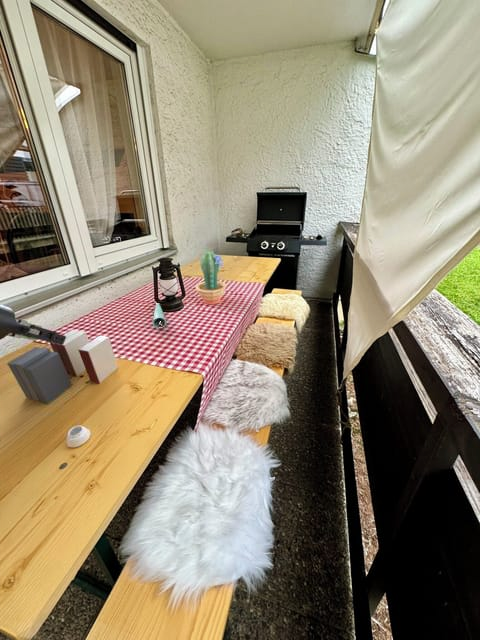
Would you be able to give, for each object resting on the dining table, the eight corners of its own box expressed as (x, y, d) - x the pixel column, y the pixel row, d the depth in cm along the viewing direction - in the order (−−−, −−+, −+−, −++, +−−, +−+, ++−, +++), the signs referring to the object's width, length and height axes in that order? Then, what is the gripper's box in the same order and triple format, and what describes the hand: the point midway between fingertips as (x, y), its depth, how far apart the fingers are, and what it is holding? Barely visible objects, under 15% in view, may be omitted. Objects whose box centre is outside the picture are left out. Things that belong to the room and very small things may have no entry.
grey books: (26, 397, 74) (6, 361, 68) (51, 379, 81) (35, 345, 75) (47, 404, 72) (28, 367, 66) (72, 385, 78) (57, 349, 72)
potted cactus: (209, 310, 123) (204, 257, 111) (191, 300, 133) (185, 252, 121) (233, 300, 132) (231, 251, 120) (214, 292, 142) (211, 246, 130)
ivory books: (63, 373, 83) (49, 342, 78) (84, 359, 90) (72, 329, 84) (76, 377, 82) (63, 345, 76) (96, 361, 89) (86, 331, 83)
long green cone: (161, 293, 128) (165, 316, 106) (163, 303, 131) (167, 328, 108) (150, 294, 127) (151, 318, 104) (152, 304, 129) (153, 330, 107)
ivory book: (90, 381, 80) (78, 349, 74) (110, 365, 86) (100, 335, 81) (99, 384, 79) (87, 351, 73) (118, 367, 86) (108, 336, 80)
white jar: (77, 428, 64) (62, 446, 60) (73, 420, 63) (57, 438, 59) (95, 431, 63) (81, 450, 59) (92, 423, 62) (77, 441, 58)
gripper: (10, 304, 49) (78, 327, 64) (-40, 295, 53) (35, 319, 68) (-8, 342, 47) (66, 357, 62) (-59, 330, 51) (23, 347, 66)
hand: (50, 337), depth 65 cm, fingers open, 8 cm apart
